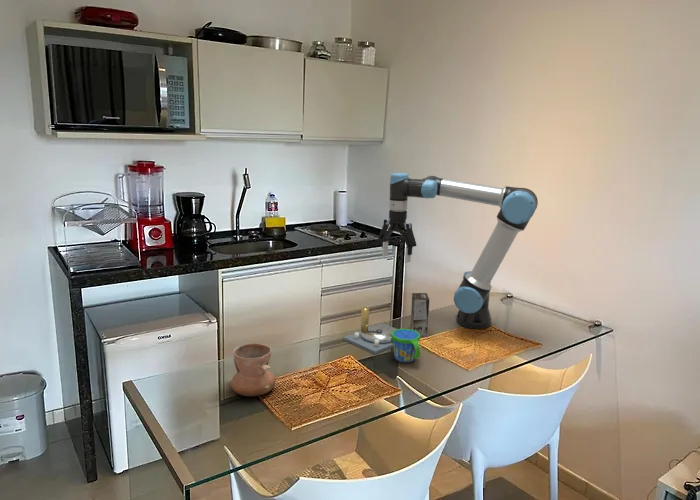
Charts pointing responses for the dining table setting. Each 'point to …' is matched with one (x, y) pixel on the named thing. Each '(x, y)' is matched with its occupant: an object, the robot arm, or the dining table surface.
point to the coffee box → (420, 313)
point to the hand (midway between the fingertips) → (396, 259)
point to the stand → (366, 345)
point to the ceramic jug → (252, 370)
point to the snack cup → (405, 345)
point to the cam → (374, 329)
